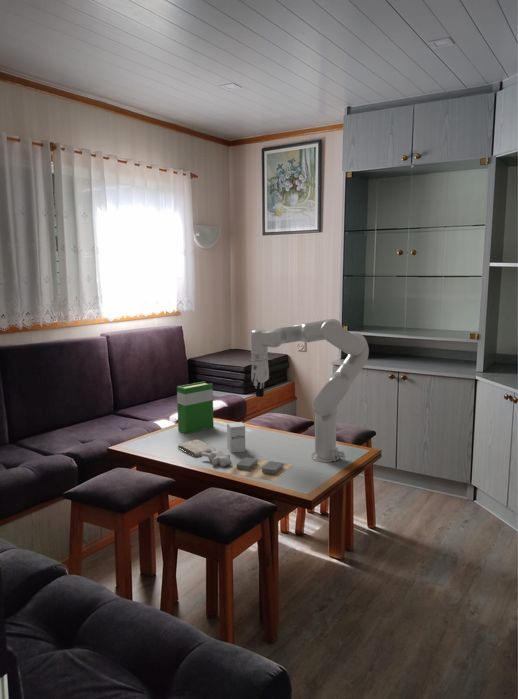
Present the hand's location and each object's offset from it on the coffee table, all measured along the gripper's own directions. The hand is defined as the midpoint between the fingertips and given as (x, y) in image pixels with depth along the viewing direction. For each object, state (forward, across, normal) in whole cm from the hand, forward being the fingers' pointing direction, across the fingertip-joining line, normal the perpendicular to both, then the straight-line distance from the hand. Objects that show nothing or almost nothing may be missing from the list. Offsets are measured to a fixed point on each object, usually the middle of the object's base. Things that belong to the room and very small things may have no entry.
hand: (259, 396), depth 252 cm
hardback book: (+27, +21, +47) cm, 58 cm away
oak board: (+27, -19, -8) cm, 34 cm away
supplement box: (+27, -1, +12) cm, 30 cm away
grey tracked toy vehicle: (+28, -8, +30) cm, 42 cm away
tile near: (+26, -14, -14) cm, 32 cm away
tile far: (+26, -14, -2) cm, 29 cm away
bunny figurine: (+28, -19, +13) cm, 36 cm away
